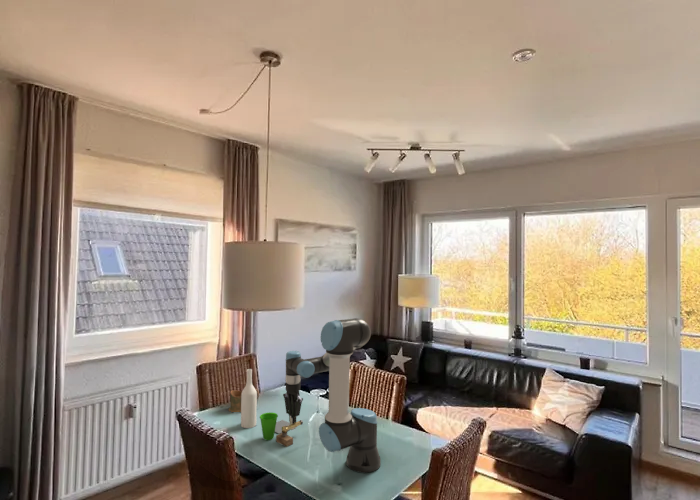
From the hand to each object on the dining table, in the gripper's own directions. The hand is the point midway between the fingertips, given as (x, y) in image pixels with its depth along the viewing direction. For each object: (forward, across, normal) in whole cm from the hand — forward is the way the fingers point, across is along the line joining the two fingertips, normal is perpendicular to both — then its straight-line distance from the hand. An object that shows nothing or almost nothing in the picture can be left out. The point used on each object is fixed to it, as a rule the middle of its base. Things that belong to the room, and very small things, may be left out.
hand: (292, 428), depth 199 cm
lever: (-1, -2, +1) cm, 2 cm away
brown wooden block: (+4, -2, +7) cm, 9 cm away
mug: (+4, +48, -4) cm, 49 cm away
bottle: (+4, +28, +7) cm, 29 cm away
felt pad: (+4, +12, -3) cm, 13 cm away
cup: (+4, +8, +9) cm, 13 cm away
